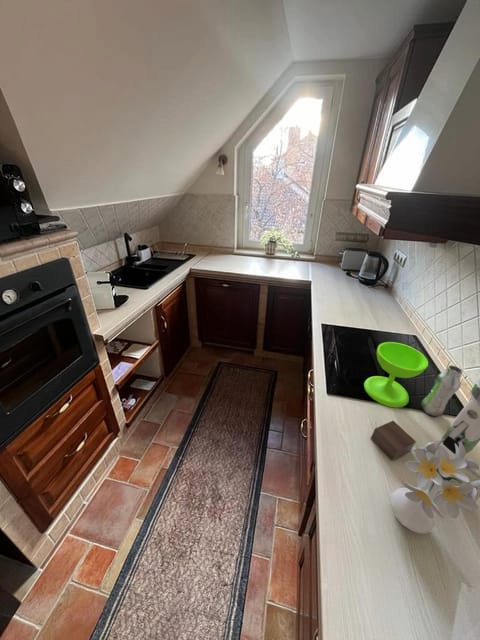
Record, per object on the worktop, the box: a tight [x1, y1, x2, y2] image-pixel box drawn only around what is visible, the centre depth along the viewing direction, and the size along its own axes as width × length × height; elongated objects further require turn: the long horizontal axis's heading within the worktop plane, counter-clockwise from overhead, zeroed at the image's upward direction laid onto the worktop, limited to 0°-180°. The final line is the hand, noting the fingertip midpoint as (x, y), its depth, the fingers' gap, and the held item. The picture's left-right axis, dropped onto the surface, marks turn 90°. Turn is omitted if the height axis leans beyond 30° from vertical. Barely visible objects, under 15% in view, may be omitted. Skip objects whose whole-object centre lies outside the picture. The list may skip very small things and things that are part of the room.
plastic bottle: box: [420, 365, 463, 417], centre depth 87 cm, size 6×7×20 cm
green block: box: [441, 426, 480, 454], centre depth 66 cm, size 5×5×5 cm
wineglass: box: [363, 341, 429, 409], centre depth 95 cm, size 16×16×18 cm
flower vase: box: [389, 438, 480, 535], centre depth 56 cm, size 13×18×25 cm
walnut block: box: [370, 420, 417, 462], centre depth 79 cm, size 8×8×5 cm
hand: (456, 444), depth 67 cm, fingers closed on green block, 5 cm apart
